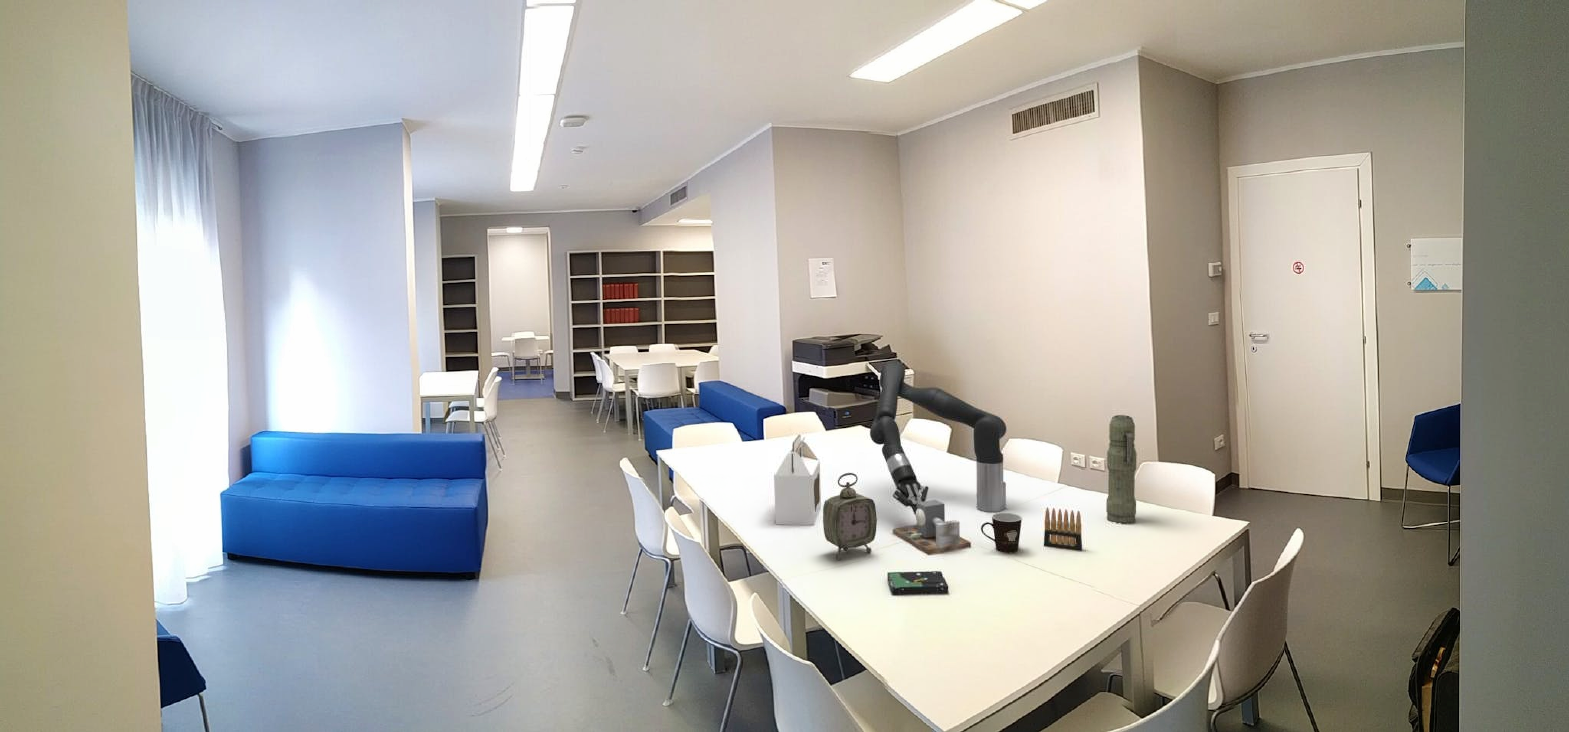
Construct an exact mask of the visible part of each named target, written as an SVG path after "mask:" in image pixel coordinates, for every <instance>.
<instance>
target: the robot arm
mask: <svg viewBox="0 0 1569 732" xmlns="http://www.w3.org/2000/svg"><path fill="white" fill-rule="evenodd" d="M905 377H906V369H905V366H904V364H902V363H901V362H900V361H898V360H888V361H886V362H885V363H883V365H882V367H881V369H880V376H879V386H880V388H881V391H880V394H879V398H878V403H877V408H876V415H875V417H874V419H873V421H872V424H871V426H870V430H869V435H870V439H871V441H872V442H873V443H874V444H876V445H882V447H881V453H882V455H883V458H884V460H885V463H886V466H887V469H888V472H889V474H890V476H891V478H892V481H893V483H894V485H895V487H896V490H895V491H894V492H893V494H892V497H893V499H895V500H896V501H898V502H899V503H901V504H902V505H903V506H904V507H905V508H907V507H910V508H911V509H912V512H913V514H914V515H915V516H916V510H917V502H924V501H927V497H928V491H929V486H927V485H925V486H923V485H921V483H920V482H919V481H918V478H917V475H916V473H915V471H914V468H913V467H912V465H911V463H910V460H909V458H908V457H907V455H906V452H905V451H904V448H903V446H902V442H901V441H902V440H901V436H900V430H899V429H900V428H899V425H898V423H897V422H896V421H895V419H896V417H897V410H898V400H899V399H898V398H901V399H904V400H906V401H909V402H911V403H913V404H914V405H917V406H918V407H921V408H923V409H924V410H927V411H928V412H930V413H931V414H934V415H935V416H937V417H939V418H942V419H945V420H949V421H951V422H952V421H953V422H956V423H960V424H963V425H965V426H966V425H967V426H968V427H970V428H971V429H973V449H974V455H975V458H976V459H975V460H976V464H975V465H976V466H975V467H976V509H978V510H979V511H983V512H988V513H996V512H1001V511H1003V510H1005V509H1007V491H1006V490H1007V483H1006V482H1005V481H1004V454H1003V453H1002V451H1001V445H1000V444H1001V443H1000V440H1001V439H1002V438H1003V437H1004V436H1005V435H1006V433H1007V425H1006V423H1005V421H1004V420H1003V419H1002V418H1001V417H1000V416H998V415H995V414H993V413H990V412H987V411H985V410H982V409H981V408H977V407H975V406H973V405H971V404H969V403H968V402H965V401H964V400H962V399H960V398H958V397H956V396H955V395H953V394H951V393H949V392H947V391H945V390H943V389H941V388H938V387H915V386H912V385H910V384H908V383H906V382H905Z"/></svg>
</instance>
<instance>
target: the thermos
mask: <svg viewBox="0 0 1569 732" xmlns="http://www.w3.org/2000/svg"><path fill="white" fill-rule="evenodd" d="M1108 426H1109V429H1108V431H1109V433H1108V434H1109V435H1108V436H1109V437H1108V438H1109V443H1108V444H1109V445H1108V449H1107V452H1106V468H1107V470H1108V482H1107V483H1108V486H1107V487H1108V490H1107V491H1108V492H1107V494H1108V496H1107V498H1106V510H1105V511H1106V520H1107V521H1108V522H1110V521H1111V523H1113V522H1116V523H1115V524H1118V523H1121V524H1120V525H1131V523H1132V524H1134V522H1135V523H1136V515H1137V500H1136V497H1135V483H1136V481H1135V479H1136V478H1135V477H1136V470H1137V456H1138V455H1137V451H1136V447H1135V446H1136V445H1135V439H1136V437H1135V435H1136V433H1135V429H1136V428H1135V427H1136V424H1135V421H1134V418H1133V417H1131V416H1130V415H1125V414H1122V415H1121V414H1119V415H1114V416H1112V417H1111V419H1110V422H1109V425H1108Z"/></svg>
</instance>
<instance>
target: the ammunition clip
mask: <svg viewBox="0 0 1569 732" xmlns="http://www.w3.org/2000/svg"><path fill="white" fill-rule="evenodd" d="M1068 512H1069V511H1068V510H1067V509H1065V510H1064V513H1062V510H1061V508H1059V509H1058V513H1057V515H1056V510H1055V507H1053V508H1052V510H1051V517H1050V509H1049V507H1046V509H1045V516H1044V533H1043V534H1044V535H1043V536H1044V537H1043V547H1044V548H1045V547H1047V548H1055V549H1062V550H1070V551H1077V552H1081V551H1082V550H1083V540H1082V539H1083V537H1082V520H1081V518H1082V517H1081V513H1080V510H1077V513H1076V520H1075V512H1074V510H1073V509H1072V510H1071V511H1070V516H1069V513H1068ZM1062 514H1063V515H1062ZM1056 516H1057V517H1056ZM1069 517H1070V518H1069ZM1050 518H1051V519H1050Z"/></svg>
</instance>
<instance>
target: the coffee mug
mask: <svg viewBox="0 0 1569 732" xmlns="http://www.w3.org/2000/svg"><path fill="white" fill-rule="evenodd" d="M1022 519H1023V517H1022V516H1021V515H1020V514H1016V513H1012V512H998V513H994V514H992V515H991V520H992V522H990V521H989V522H988V521H987V522H986V521H985V522H983V523H982V525H981V527H980V530H981V531H980V532H981V533H982V534H983V535H984V536H985V537H987V538H988V539H990V540H991V541H993V542H994V543H995V550H996V551H997V552H999V553H1004V554H1015V553H1017V552H1019V547H1020V536H1021V530H1022V529H1021V528H1022ZM986 525H990V526H991V527H992V529H993V534H994V535H993V536H994V538H993V537H991V536H989V534H986V533H985V531H984V527H985V526H986Z"/></svg>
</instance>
